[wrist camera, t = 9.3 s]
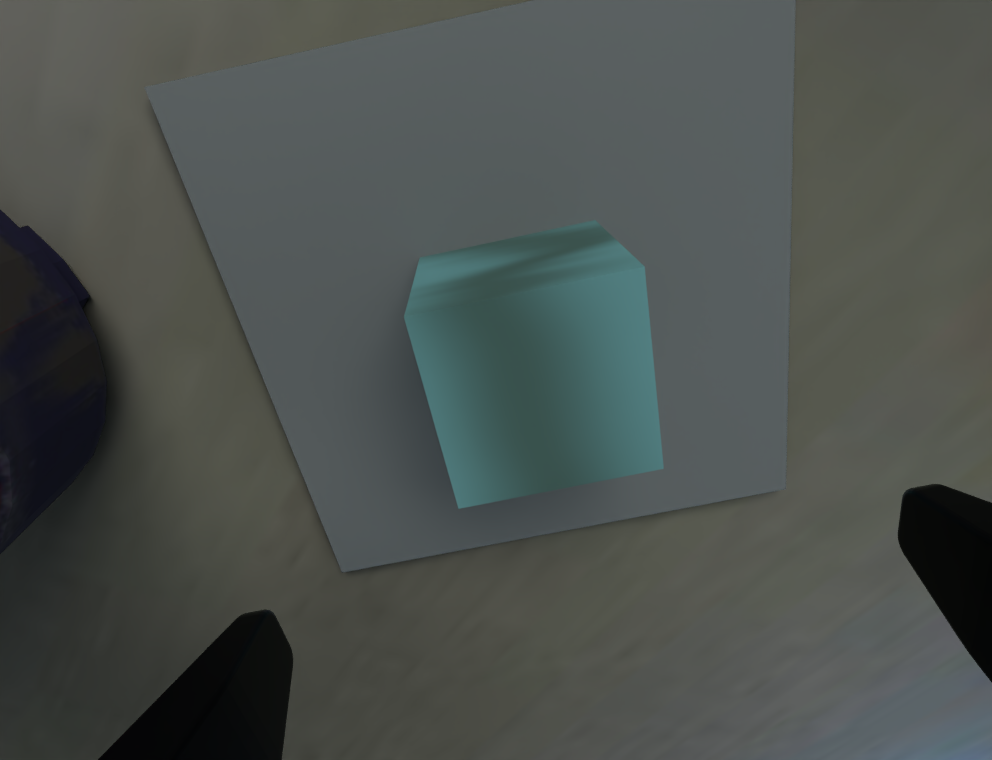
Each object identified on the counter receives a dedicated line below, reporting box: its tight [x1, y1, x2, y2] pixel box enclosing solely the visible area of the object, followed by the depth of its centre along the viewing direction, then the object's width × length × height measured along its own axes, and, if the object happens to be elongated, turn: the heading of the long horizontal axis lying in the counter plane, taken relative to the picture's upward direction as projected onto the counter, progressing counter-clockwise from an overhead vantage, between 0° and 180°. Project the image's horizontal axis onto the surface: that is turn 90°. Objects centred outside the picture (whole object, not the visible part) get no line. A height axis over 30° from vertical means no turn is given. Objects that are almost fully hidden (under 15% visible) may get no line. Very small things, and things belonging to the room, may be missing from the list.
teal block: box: [404, 220, 664, 509], centre depth 16 cm, size 5×5×5 cm
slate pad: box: [145, 0, 796, 573], centre depth 18 cm, size 16×16×1 cm
